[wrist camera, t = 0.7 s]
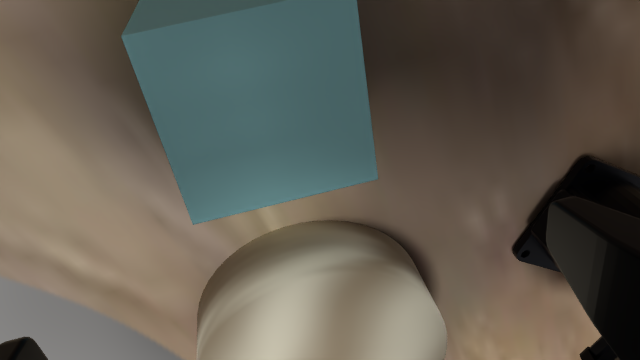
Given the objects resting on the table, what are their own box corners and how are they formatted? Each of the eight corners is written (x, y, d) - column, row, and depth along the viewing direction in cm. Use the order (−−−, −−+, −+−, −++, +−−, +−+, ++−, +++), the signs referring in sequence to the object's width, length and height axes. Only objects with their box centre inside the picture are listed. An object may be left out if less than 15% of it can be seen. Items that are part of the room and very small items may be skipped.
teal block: (313, -48, 18) (354, -15, 13) (337, 105, 21) (378, 179, 16) (145, -12, 18) (121, 36, 13) (196, 138, 21) (192, 224, 16)
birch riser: (458, 248, 27) (493, 302, 24) (359, 392, 32) (377, 454, 29) (245, 191, 23) (252, 247, 19) (168, 368, 28) (163, 437, 24)
